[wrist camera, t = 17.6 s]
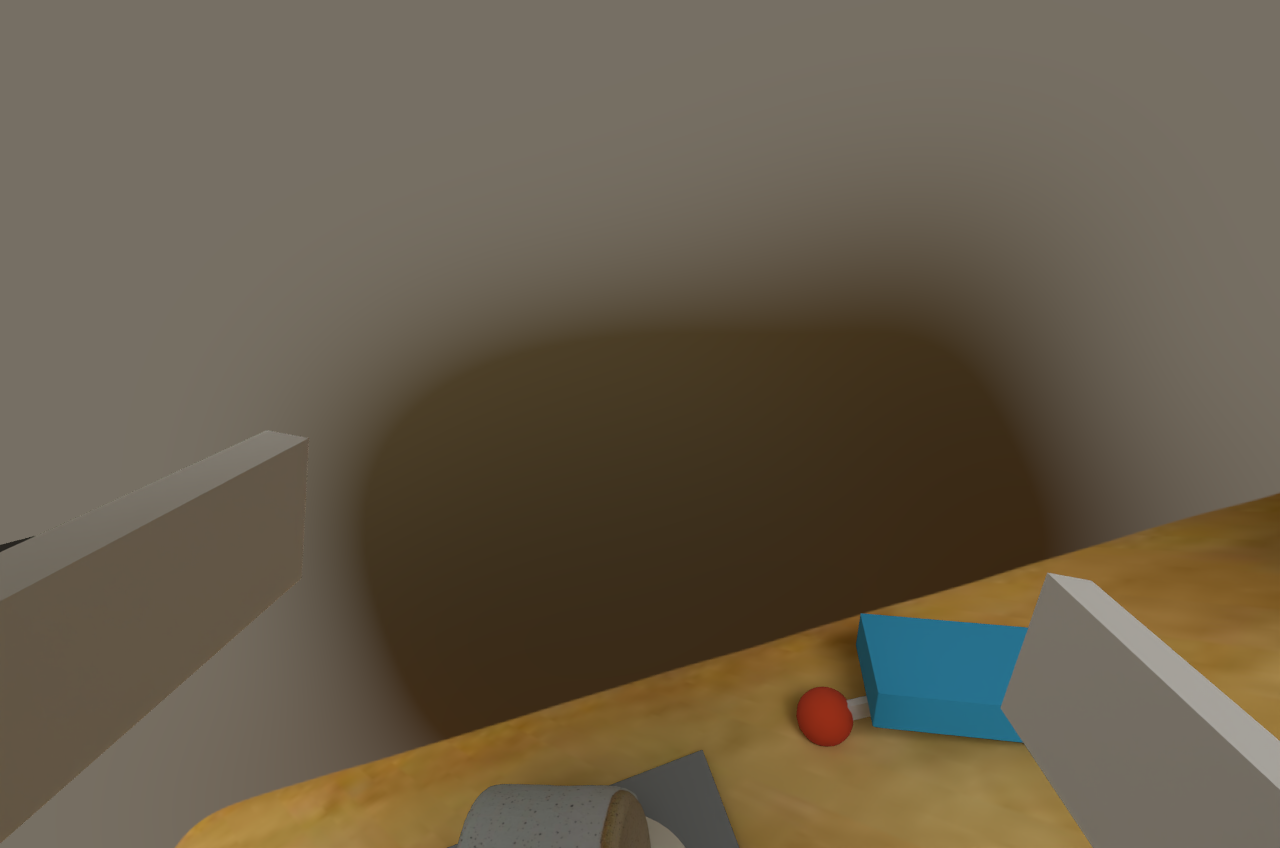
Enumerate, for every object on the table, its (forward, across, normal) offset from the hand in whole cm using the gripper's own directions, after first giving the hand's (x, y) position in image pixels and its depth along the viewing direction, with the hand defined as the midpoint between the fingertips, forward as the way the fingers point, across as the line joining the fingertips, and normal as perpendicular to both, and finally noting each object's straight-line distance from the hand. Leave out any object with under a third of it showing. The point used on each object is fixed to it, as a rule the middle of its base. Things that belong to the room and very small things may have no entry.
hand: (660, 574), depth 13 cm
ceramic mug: (+19, 0, -29) cm, 35 cm away
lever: (+27, +21, -19) cm, 39 cm away
